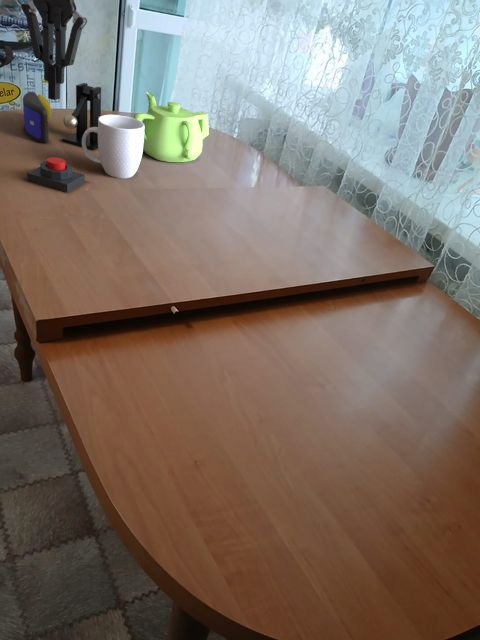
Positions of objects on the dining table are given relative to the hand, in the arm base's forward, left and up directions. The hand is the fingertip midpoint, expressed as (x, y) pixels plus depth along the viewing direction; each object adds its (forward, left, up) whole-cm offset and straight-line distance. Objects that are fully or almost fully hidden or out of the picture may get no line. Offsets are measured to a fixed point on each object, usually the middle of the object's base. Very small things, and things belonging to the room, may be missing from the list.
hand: (54, 98), depth 119 cm
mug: (+8, +13, -19) cm, 24 cm away
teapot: (+12, +38, -19) cm, 44 cm away
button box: (+1, -2, -18) cm, 18 cm away
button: (+1, -2, -15) cm, 15 cm away
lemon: (-25, +33, -19) cm, 45 cm away
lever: (-8, +25, -10) cm, 28 cm away
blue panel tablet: (-20, +24, -19) cm, 36 cm away
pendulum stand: (-8, +29, -18) cm, 35 cm away
